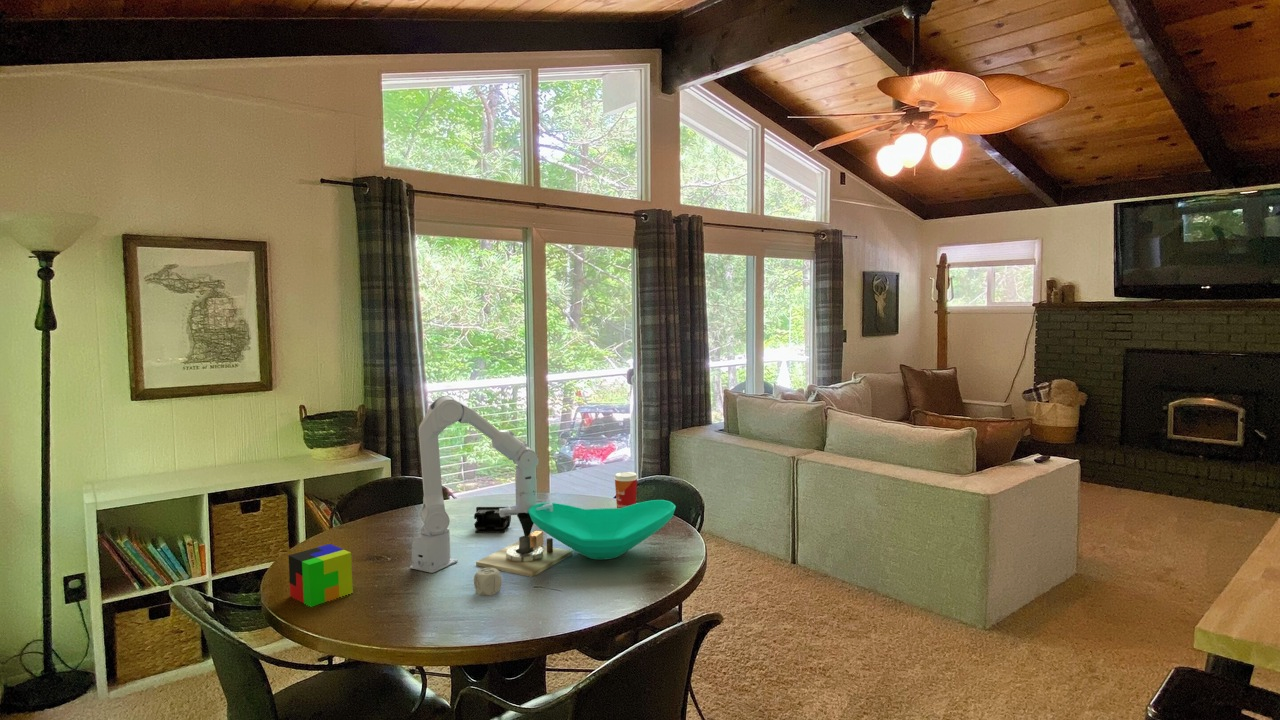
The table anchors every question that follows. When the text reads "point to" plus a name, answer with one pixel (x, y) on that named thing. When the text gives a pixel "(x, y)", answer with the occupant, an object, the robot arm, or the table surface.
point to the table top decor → (603, 526)
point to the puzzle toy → (320, 574)
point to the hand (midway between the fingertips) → (527, 539)
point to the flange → (535, 549)
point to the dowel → (549, 545)
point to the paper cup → (625, 488)
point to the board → (522, 568)
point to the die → (487, 581)
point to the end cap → (490, 520)
